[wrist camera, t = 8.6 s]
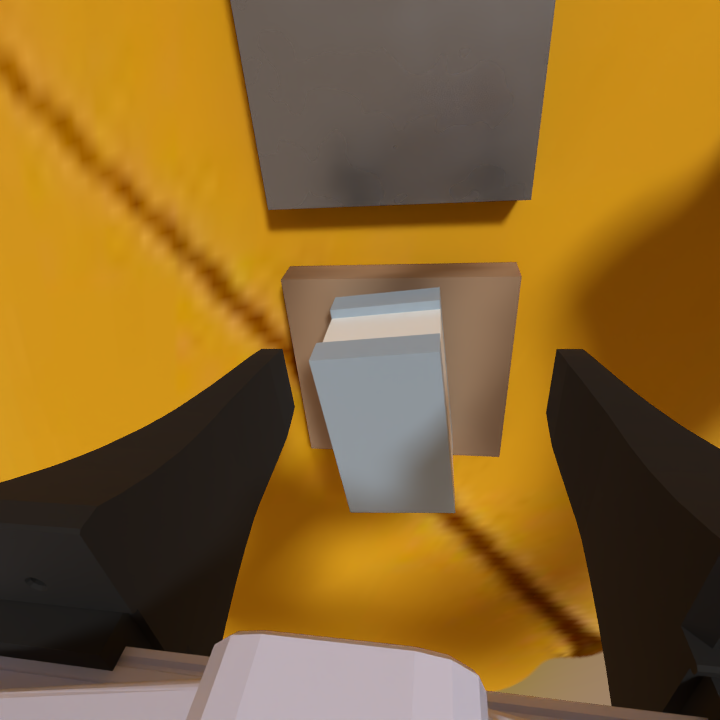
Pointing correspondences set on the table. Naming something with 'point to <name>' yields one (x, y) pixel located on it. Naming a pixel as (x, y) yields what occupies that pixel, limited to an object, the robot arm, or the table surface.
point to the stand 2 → (460, 325)
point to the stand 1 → (394, 98)
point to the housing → (388, 401)
